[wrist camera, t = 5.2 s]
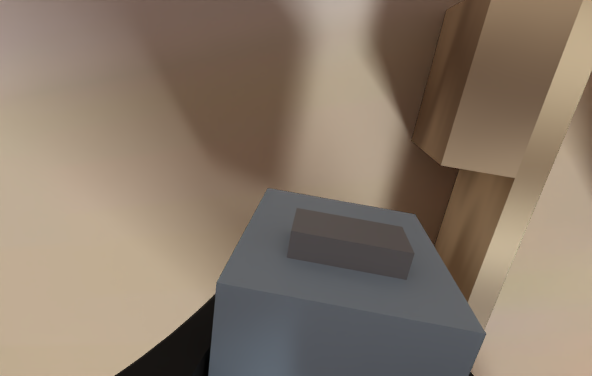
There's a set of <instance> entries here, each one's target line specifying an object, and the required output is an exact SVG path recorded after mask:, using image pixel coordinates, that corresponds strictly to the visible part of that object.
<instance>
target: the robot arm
mask: <svg viewBox="0 0 592 376" xmlns="http://www.w3.org/2000/svg"><path fill="white" fill-rule="evenodd" d="M215 295H216V294H215ZM215 295H214V296H213V297H212V298H211V299H209V300H208V301H207V302H206V303H205V304H204V305H203V306H202V307H201V308H200V309H199V310H198V311H197V312H196V313H194V314H193V315H192V316H191V317H190V318H189V319H188V320H187V321H185V322H184V323H183V324H182V325H181V326H180V327H178V328H177V329H176V330H175V331H174V332H173V333H171V334H170V335H169V336H168V337H166V338H165V339H164V340H163V341H161V342H160V343H159V344H157V345H156V346H155V347H154V348H152V349H151V350H150V351H148V352H147V353H146V354H145V355H143V356H142V357H141V358H139V359H138V360H137V361H135V362H134V363H132V364H131V365H130V366H128V367H127V368H125V369H124V370H122V371H121V372H119V373H118V374H117V375H115V376H208V372H209V361H210V350H211V339H212V328H213V317H214V306H215ZM469 376H474V375H473V374H472V373H471V372H470V374H469Z"/></svg>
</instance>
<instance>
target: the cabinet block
mask: <svg viewBox="0 0 592 376" xmlns="http://www.w3.org/2000/svg"><path fill="white" fill-rule="evenodd" d="M485 335H486V333H485V331H484V329H483V328H482V326H481V324H480V323H479V321H478V319H477V318H476V316H475V314H474V313H473V311H472V309H471V307H470V306H469V304H468V302H467V301H466V299H465V297H464V296H463V294H462V292H461V291H460V289H459V287H458V286H457V284H456V282H455V281H454V279H453V277H452V276H451V274H450V272H449V270H448V269H447V267H446V265H445V264H444V262H443V260H442V259H441V257H440V255H439V254H438V252H437V250H436V249H435V247H434V245H433V244H432V242H431V240H430V239H429V237H428V235H427V233H426V232H425V230H424V228H423V227H422V225H421V223H420V222H419V220H418V218H417V217H416V215H415V214H411V213H405V212H400V211H394V210H388V209H383V208H377V207H372V206H366V205H360V204H355V203H349V202H343V201H338V200H332V199H327V198H321V197H315V196H310V195H304V194H299V193H293V192H287V191H282V190H276V189H270V188H268V189H267V190H266V192H265V194H264V196H263V198H262V200H261V201H260V203H259V205H258V207H257V209H256V211H255V213H254V214H253V216H252V218H251V220H250V222H249V224H248V226H247V227H246V229H245V231H244V233H243V235H242V237H241V238H240V240H239V242H238V244H237V246H236V248H235V250H234V251H233V253H232V255H231V257H230V259H229V261H228V262H227V264H226V266H225V268H224V270H223V272H222V274H221V275H220V277H219V279H218V281H217V284H216V295H215V306H214V317H213V328H212V339H211V350H210V361H209V372H208V376H469V374H470V371H471V369H472V366H473V364H474V362H475V359H476V357H477V355H478V352H479V350H480V347H481V345H482V343H483V340H484V338H485Z"/></svg>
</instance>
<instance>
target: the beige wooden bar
mask: <svg viewBox="0 0 592 376" xmlns="http://www.w3.org/2000/svg"><path fill="white" fill-rule="evenodd" d="M591 71H592V0H464V1H462V2H460V3H458V4H456V5H455V6H453V7H451V8H449V9H447V10H446V13H445V17H444V21H443V24H442V28H441V32H440V36H439V39H438V43H437V47H436V51H435V54H434V58H433V62H432V66H431V69H430V73H429V77H428V81H427V84H426V88H425V92H424V96H423V99H422V103H421V107H420V110H419V114H418V118H417V122H416V125H415V129H414V133H413V137H412V140H411V141H412V142H413V143H415V144H416V145H417V146H418V147H419V148H421V149H422V150H423V151H424V152H425V153H427V154H428V155H429V156H430V157H431V158H433V159H434V160H435V161H436V162H437V163H439V164H440V165H441V166H447V167H453V168H459V172H458V175H457V178H456V181H455V184H454V187H453V190H452V194H451V197H450V200H449V203H448V206H447V209H446V212H445V215H444V218H443V221H442V225H441V228H440V231H439V234H438V237H437V240H436V243H435V246H434V247H435V249H436V250H437V252H438V254H439V255H440V257H441V259H442V260H443V262H444V264H445V265H446V267H447V269H448V270H449V272H450V274H451V276H452V277H453V279H454V281H455V282H456V284H457V286H458V287H459V289H460V291H461V292H462V294H463V296H464V297H465V299H466V301H467V302H468V304H469V306H470V307H471V309H472V311H473V313H474V314H475V316H476V318H477V319H478V321H479V323H480V324H481V326H482V328H483V329H484V330H485V327H486V325H487V323H488V320H489V318H490V315H491V313H492V310H493V308H494V306H495V303H496V301H497V298H498V296H499V294H500V291H501V289H502V286H503V284H504V282H505V279H506V277H507V274H508V272H509V269H510V267H511V265H512V262H513V260H514V257H515V255H516V253H517V250H518V248H519V245H520V243H521V240H522V238H523V236H524V233H525V231H526V228H527V226H528V224H529V221H530V219H531V216H532V214H533V212H534V209H535V207H536V204H537V202H538V199H539V197H540V195H541V192H542V190H543V187H544V185H545V183H546V180H547V178H548V175H549V173H550V170H551V168H552V166H553V163H554V161H555V158H556V156H557V154H558V151H559V149H560V146H561V144H562V141H563V139H564V137H565V134H566V132H567V129H568V127H569V125H570V122H571V120H572V117H573V115H574V113H575V110H576V108H577V105H578V103H579V100H580V98H581V96H582V93H583V91H584V88H585V86H586V84H587V81H588V79H589V76H590V74H591Z"/></svg>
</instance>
